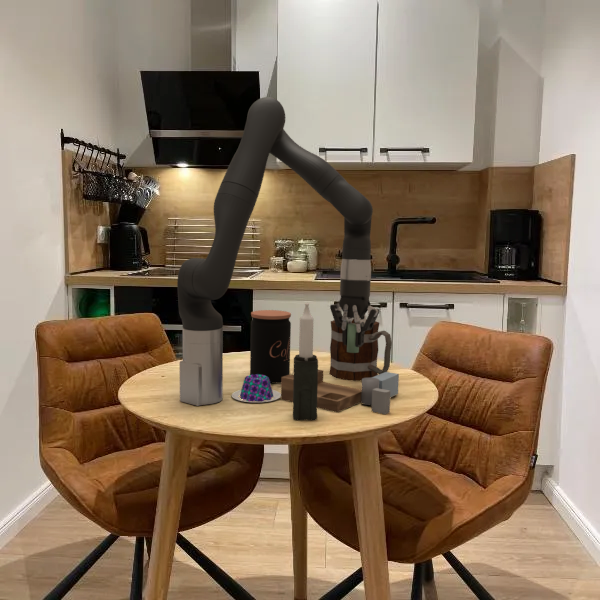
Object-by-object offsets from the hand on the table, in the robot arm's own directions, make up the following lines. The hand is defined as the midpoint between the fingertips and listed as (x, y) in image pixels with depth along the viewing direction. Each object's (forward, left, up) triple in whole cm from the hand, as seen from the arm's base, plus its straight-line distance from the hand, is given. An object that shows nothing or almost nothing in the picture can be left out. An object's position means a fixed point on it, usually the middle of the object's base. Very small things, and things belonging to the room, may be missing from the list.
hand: (352, 345), depth 150 cm
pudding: (-20, +14, -12) cm, 28 cm away
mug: (+13, +4, -12) cm, 18 cm away
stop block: (-12, -15, -11) cm, 22 cm away
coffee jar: (-5, +22, -12) cm, 26 cm away
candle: (-25, -4, -12) cm, 28 cm away
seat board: (-12, +1, -11) cm, 17 cm away
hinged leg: (-4, -10, -11) cm, 15 cm away
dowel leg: (0, 0, -2) cm, 2 cm away
